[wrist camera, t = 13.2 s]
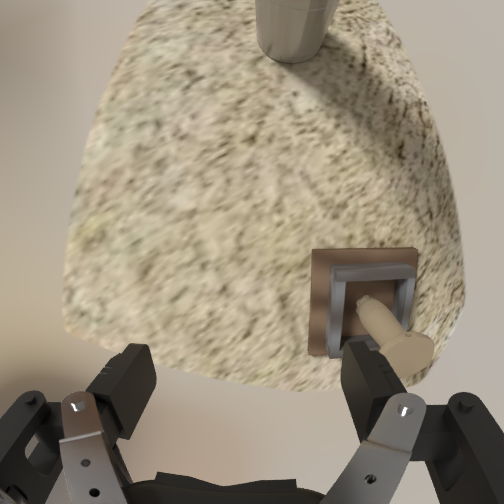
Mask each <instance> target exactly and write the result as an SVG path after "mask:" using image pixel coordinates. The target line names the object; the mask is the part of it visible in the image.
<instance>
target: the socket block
mask: <svg viewBox="0 0 504 504" xmlns="http://www.w3.org/2000/svg"><path fill="white" fill-rule="evenodd" d="M417 256H418V249H416V248H414V247H408V248H346V249H312V267H311V298H310V319H309V337H308V354H309V355H323V354H328V355H329V358H330V359H334V358H343V350H344V344H345V342H348V341H357V340H364V341H365V343H366V344H367V346H368V348H369V349H370V351H374V350H377V351H378V352H379V351H380V349H381V347H380V346H379V345H378V344H377V342H376V341H375V340H374V339H373V338H372V337H371V335H370V334H369V333H368V332H367V330H366V329H365V328H364V326H363V324H362V323H361V320H360V318H359V315H358V314H357V312H356V308H357V304H356V302H357V300H360V299H361V298H363V296H364V295H369V296H370V297H371V298H375V299H376V300H378V301H380V302H381V303H382V304H384V305H385V306H386V307H387V308H388V309H389V310H390V311H391V312H392V314H393V315H394V316H395V318H396V319H397V320H398V322H399V323H400V324H401V326H402V327H403V328H404V329H405V331H406V332H407V329H408V324H409V319H410V313H411V307H412V301H413V294H414V287H415V280H416V271H417V269H416V266H417Z"/></svg>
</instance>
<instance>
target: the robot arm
mask: <svg viewBox="0 0 504 504" xmlns="http://www.w3.org/2000/svg"><path fill="white" fill-rule="evenodd" d="M339 1H340V0H255V7H256V26H257V40H258V44H259V46H260V48H261V49H262V51H263V52H264V53H265V54H266V55H268V56H269V57H271V58H273V59H275V60H277V61H280V62H284V63H300V62H304V61H307V60H309V59H311V58H312V57H313V56H315V55H316V53H317V52H318V51H319V48H320V46H321V44H322V41H323V39H324V37H325V35H326V32H327V30H328V27H329V25H330V23H331V20H332V18H333V15H334V13H335V11H336V8H337V6H338V3H339ZM341 385H342V389H343V392H344V395H345V397H346V401H347V404H348V406H349V410H350V412H351V416H352V419H353V422H354V425H355V428H356V431H357V434H358V438H359V440H360V446H359V448H358V449H357V451H356V452H355V454H354V456H353V457H352V459H351V461H350V462H349V463H348V465H347V466H346V468H345V469H344V471H343V472H342V473H341V475H340V476H339V478H338V479H337V481H336V482H335V483H334V485H333V486H332V487H331V489H330V490H329V491H328V493H327V494H326V495H324V494H321V493H319V492H316V491H313V490H309V489H304V488H297V485H296V479H287V480H260V481H255V482H249V483H244V484H238V485H232V486H219V485H216V484H212V483H209V482H205V481H202V480H199V479H196V478H193V477H189V476H182V475H176V474H169V473H163V472H157V475H156V478H155V480H147V481H141V482H136V483H133V481H132V479H131V477H130V474H129V472H128V470H127V467H126V465H125V463H124V460H123V458H122V455H121V453H120V450H119V448H118V445H117V444H116V441H117V439H118V438H122V439H127V440H129V439H130V437H131V435H132V433H133V431H134V429H135V427H136V425H137V423H138V421H139V419H140V417H141V415H142V413H143V411H144V409H145V407H146V405H147V403H148V401H149V399H150V397H151V395H152V392H153V391H154V389H155V386H156V372H155V369H154V364H153V361H152V357H151V353H150V349H149V346H148V345H147V344H134V343H130V344H129V345H128V346H127V347H126V349H125V350H124V351H123V352H122V354H121V353H119V354H118V355H116V356H114V357H113V358H111V359H110V360H109V361H108V363H107V364H106V365H105V368H103V369H102V370H101V372H100V373H99V374H98V375H97V376H96V378H95V379H94V380H93V382H92V383H91V384H90V385H89V387H88V388H87V389H86V391H77V392H73V393H70V394H69V395H67V396H66V397H65V398H64V399H63V400H62V402H47V400H46V398H45V396H44V395H43V393H41V392H39V391H28V392H25V393H24V394H22V395H21V396H20V397H19V398H18V399H17V400H16V401H15V402H14V404H13V405H12V406H11V407H10V408H9V409H8V410H7V412H6V413H5V414H4V415H3V416H2V418H1V419H0V504H45V502H46V500H47V498H48V496H49V494H50V492H51V490H52V488H53V486H54V484H55V482H56V480H57V478H58V476H59V474H60V473H61V471H62V469H64V474H65V479H66V484H67V488H68V492H69V496H70V500H71V504H389V503H390V501H391V499H392V497H393V495H394V493H395V491H396V489H397V487H398V485H399V483H400V480H401V478H402V476H403V474H404V472H405V469H406V467H407V465H408V462H409V461H425V463H426V466H427V468H428V471H429V474H430V477H431V480H432V482H433V485H434V488H435V491H436V494H437V497H438V499H439V502H440V504H504V433H503V431H502V430H501V428H500V427H499V425H498V424H497V423H496V421H495V419H494V418H493V417H492V415H491V414H490V412H489V411H488V409H487V408H486V406H485V405H484V404H483V402H482V401H481V400H480V399H479V397H477V396H476V395H474V394H471V393H467V392H460V393H457V394H454V395H453V396H451V398H450V399H449V401H448V404H447V405H426V403H425V402H424V400H423V399H422V398H421V397H419V396H417V395H415V394H412V393H407V391H406V389H405V388H404V386H403V384H402V383H401V381H400V379H399V378H398V376H397V374H396V373H395V372H394V370H393V368H392V366H390V363H389V362H388V360H387V358H386V357H385V356H384V355H383V354H381V353H380V352H378V351H377V350H374V351H370V349H369V348H368V346H367V344H366V343H365V341H364V340H357V341H348V342H345V344H344V350H343V359H342V367H341ZM33 435H35V437H36V438H37V440H38V441H39V443H38V444H37V446H36V447H35V449H34V450H33V452H32V453H31V455H30V456H29V458H28V460H27V458H26V456H25V447H26V446H27V444H28V443H29V441H30V440H31V438H32V437H33Z"/></svg>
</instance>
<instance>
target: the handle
mask: <svg viewBox="0 0 504 504" xmlns="http://www.w3.org/2000/svg"><path fill="white" fill-rule="evenodd" d="M356 304H357V308H356V312H357V314H358V315H359V318H360V320H361V323H362V324H363V326H364V328H365V329H366V330H367V332H368V333H369V334H370V335H371V337H372V338H373V339H374V340H375V341H376V342H377V344H378V345H379V346H380V347H381V349H380V351H379V352H380V353H381V354H383V355H384V356H385V357H386V358H387V360H388V362H389V363H390V366H392V368H393V370H394V372H395V373H396V374H397V376H398V378H404V377H408V376H411V375H413V374H415V373H417V372H419V371H420V370H422V369H423V368H425V367H426V366H427V365H428V364H429V362H430V361H431V359H432V356H433V353H434V343H433V340H432V339H431V338H430V337H429V336H427V335H424V334H422V333H418V332H410V331H409V332H406V331H405V329H404V328H403V327H402V326H401V324H400V323H399V322H398V320H397V319H396V318H395V316H394V315H393V314H392V312H391V311H390V310H389V309H388V308H387V307H386V306H385V305H384V304H382V303H381V302H380V301H378V300H376V299H375V298H371V297H370V296H369V295H364V296H363V298H361V299H360V300H357V302H356Z"/></svg>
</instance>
